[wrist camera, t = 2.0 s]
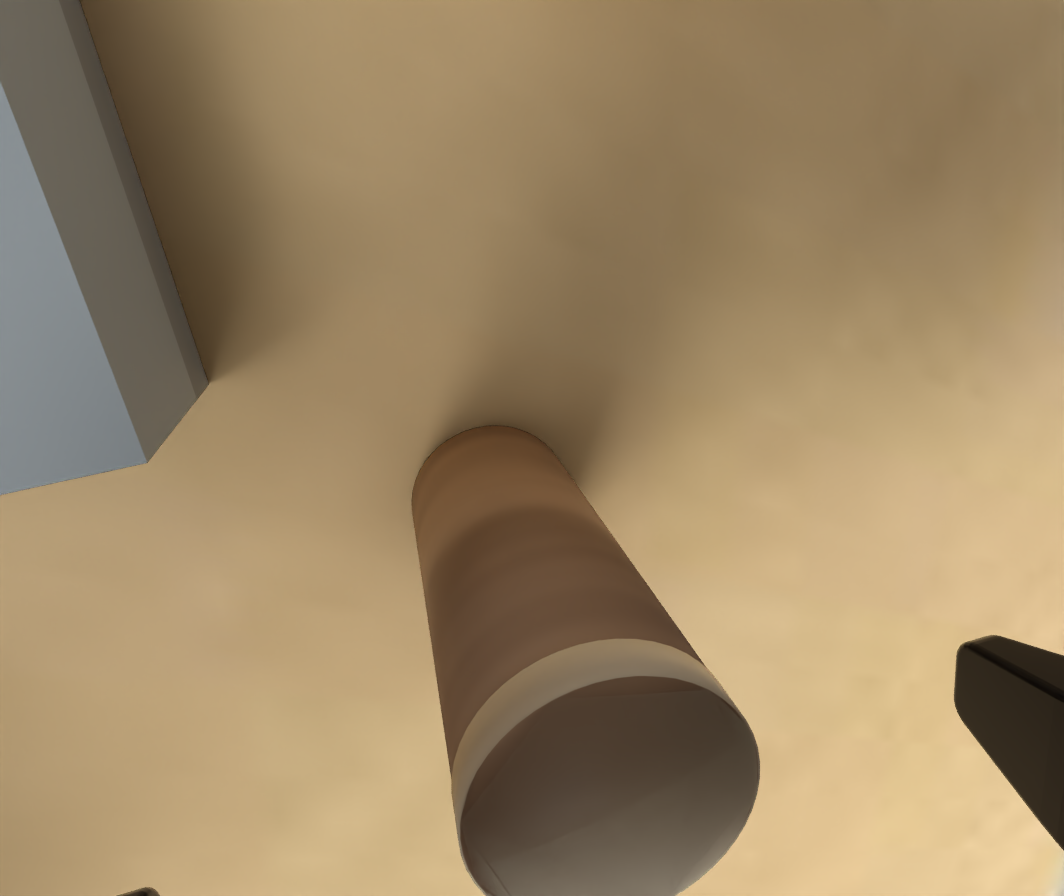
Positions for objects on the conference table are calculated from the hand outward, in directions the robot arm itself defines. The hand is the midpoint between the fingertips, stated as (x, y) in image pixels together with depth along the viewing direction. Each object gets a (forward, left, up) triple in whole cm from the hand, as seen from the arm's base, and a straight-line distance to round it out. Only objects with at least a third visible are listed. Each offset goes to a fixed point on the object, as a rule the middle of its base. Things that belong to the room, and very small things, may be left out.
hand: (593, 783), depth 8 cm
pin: (0, 0, -8) cm, 8 cm away
